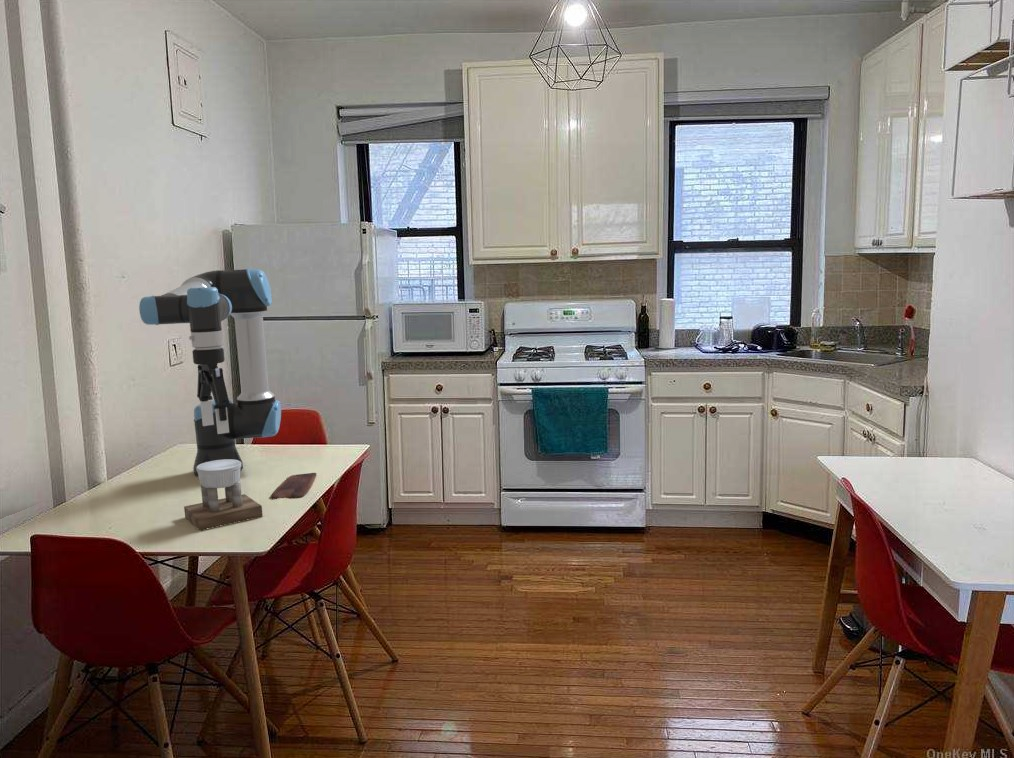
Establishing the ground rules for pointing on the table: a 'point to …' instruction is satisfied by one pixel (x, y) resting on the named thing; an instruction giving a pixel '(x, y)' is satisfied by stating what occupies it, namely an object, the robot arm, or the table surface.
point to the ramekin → (219, 473)
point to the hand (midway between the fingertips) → (215, 429)
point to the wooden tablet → (294, 486)
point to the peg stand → (222, 508)
